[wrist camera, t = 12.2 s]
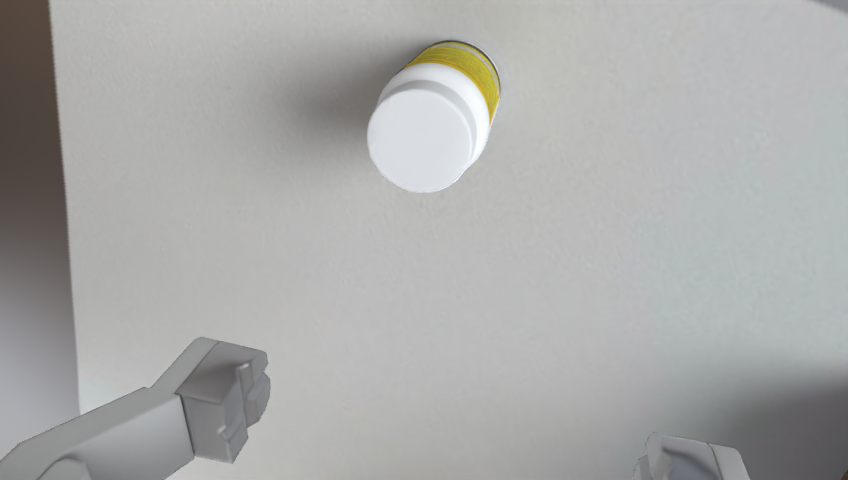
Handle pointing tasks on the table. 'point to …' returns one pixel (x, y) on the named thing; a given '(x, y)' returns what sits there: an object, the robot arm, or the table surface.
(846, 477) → the brown wooden open box
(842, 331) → the table surface
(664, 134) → the table surface
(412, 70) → the supplement bottle
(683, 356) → the table surface
